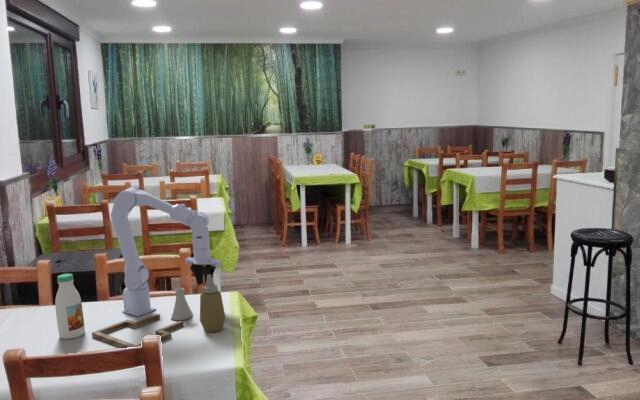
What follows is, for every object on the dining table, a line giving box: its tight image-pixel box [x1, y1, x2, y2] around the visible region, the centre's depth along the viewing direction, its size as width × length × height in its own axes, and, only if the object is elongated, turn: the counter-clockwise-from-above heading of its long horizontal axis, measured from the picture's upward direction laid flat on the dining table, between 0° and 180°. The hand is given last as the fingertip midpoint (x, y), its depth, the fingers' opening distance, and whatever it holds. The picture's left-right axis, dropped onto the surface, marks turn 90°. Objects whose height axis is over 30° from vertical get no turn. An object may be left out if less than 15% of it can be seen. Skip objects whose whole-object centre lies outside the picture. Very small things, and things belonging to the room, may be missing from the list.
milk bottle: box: [54, 273, 86, 340], centre depth 178 cm, size 8×8×20 cm
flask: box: [170, 287, 194, 321], centre depth 190 cm, size 7×7×10 cm
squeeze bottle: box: [199, 275, 226, 333], centre depth 177 cm, size 8×8×18 cm
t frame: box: [91, 313, 185, 349], centre depth 178 cm, size 23×22×2 cm
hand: (204, 284), depth 198 cm, fingers open, 3 cm apart
